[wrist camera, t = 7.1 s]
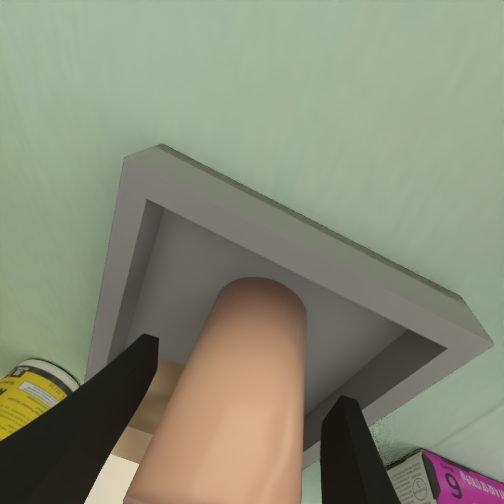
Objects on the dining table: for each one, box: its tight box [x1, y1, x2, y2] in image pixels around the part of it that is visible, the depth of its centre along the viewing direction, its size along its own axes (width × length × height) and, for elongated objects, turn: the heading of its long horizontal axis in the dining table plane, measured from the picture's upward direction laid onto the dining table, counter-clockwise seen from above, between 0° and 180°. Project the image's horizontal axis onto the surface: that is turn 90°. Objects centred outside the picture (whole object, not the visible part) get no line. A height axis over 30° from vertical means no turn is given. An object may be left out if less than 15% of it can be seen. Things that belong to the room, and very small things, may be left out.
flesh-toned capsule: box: [123, 277, 307, 504], centre depth 10 cm, size 5×5×8 cm
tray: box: [84, 144, 495, 470], centre depth 15 cm, size 14×18×3 cm
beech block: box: [110, 358, 185, 464], centre depth 17 cm, size 4×4×4 cm
